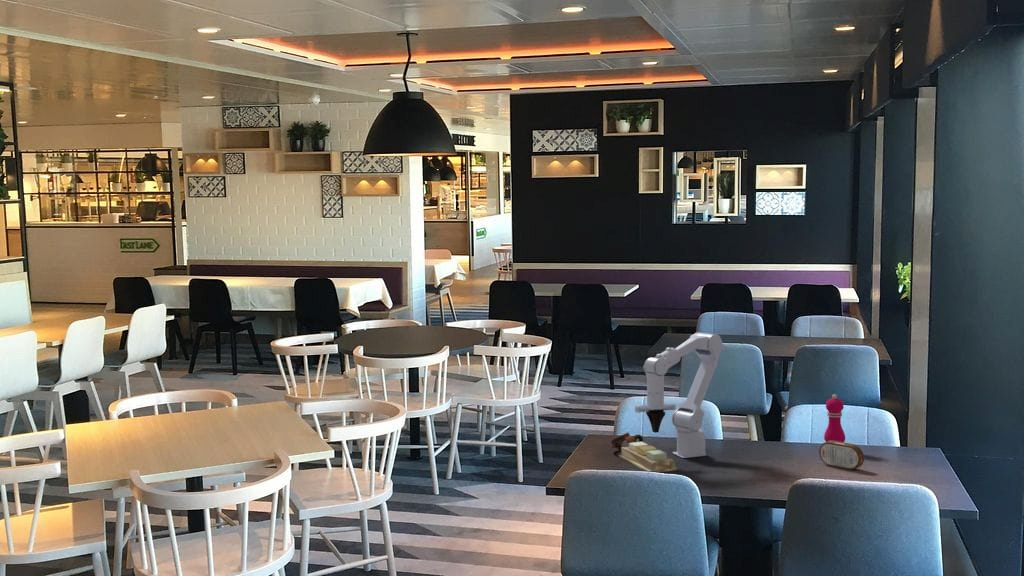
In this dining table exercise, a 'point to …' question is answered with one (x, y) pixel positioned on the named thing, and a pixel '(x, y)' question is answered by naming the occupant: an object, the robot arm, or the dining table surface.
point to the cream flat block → (645, 450)
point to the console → (647, 461)
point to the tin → (841, 455)
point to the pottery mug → (629, 439)
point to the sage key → (656, 455)
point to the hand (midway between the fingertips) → (655, 431)
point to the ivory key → (636, 445)
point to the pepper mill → (834, 420)
